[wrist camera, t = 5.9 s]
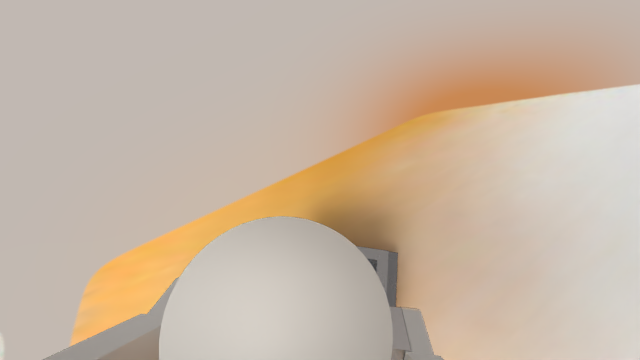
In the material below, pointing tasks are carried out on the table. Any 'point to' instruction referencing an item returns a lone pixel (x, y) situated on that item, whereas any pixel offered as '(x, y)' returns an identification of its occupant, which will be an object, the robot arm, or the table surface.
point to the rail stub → (278, 298)
